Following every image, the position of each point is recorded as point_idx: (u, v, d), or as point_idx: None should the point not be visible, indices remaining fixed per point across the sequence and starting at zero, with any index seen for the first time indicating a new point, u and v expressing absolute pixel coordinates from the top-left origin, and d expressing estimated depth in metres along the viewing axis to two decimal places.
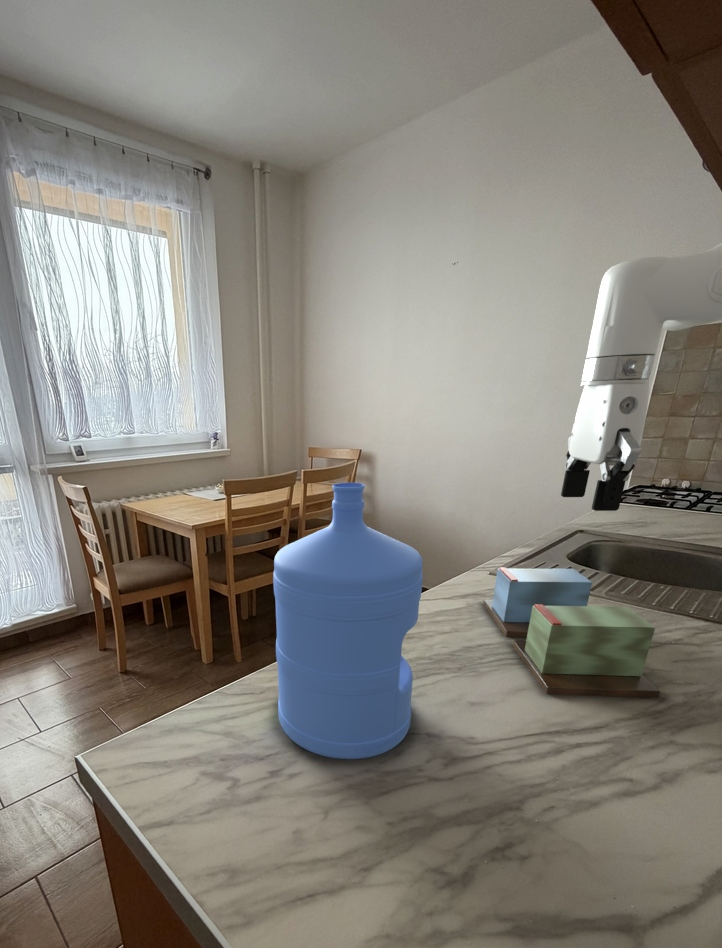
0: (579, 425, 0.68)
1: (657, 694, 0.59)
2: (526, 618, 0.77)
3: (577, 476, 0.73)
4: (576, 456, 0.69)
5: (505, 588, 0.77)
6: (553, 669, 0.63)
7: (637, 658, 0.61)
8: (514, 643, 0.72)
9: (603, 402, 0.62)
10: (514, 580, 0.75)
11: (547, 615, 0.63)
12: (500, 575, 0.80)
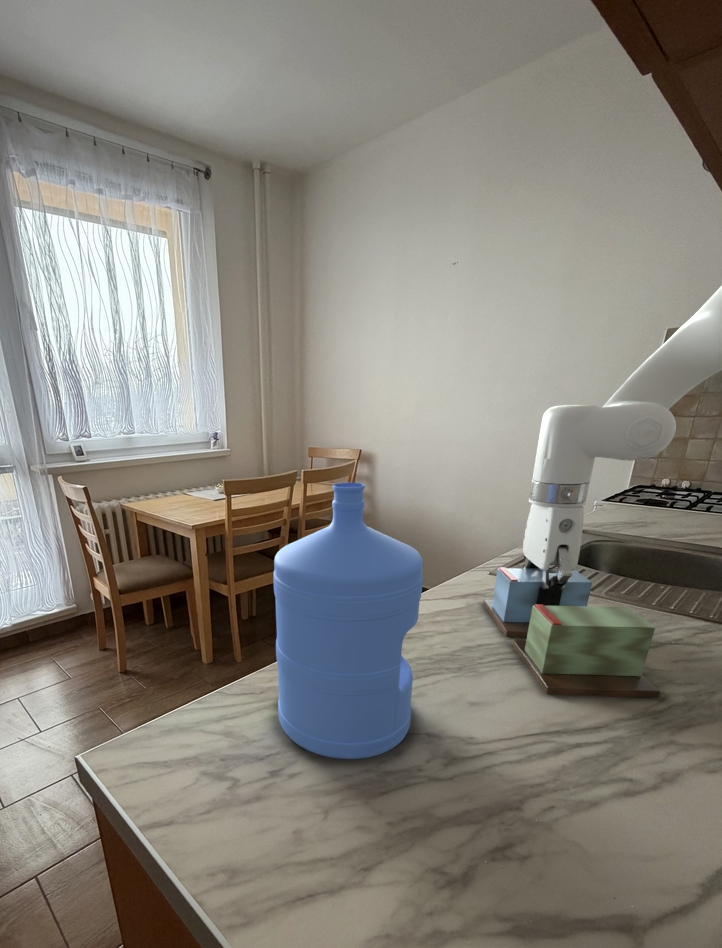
0: (529, 532, 0.77)
1: (657, 694, 0.59)
2: (526, 618, 0.77)
3: None
4: (527, 557, 0.79)
5: (505, 588, 0.77)
6: (553, 669, 0.63)
7: (637, 658, 0.61)
8: (514, 643, 0.72)
9: (546, 520, 0.71)
10: (514, 580, 0.75)
11: (547, 615, 0.63)
12: (500, 575, 0.80)
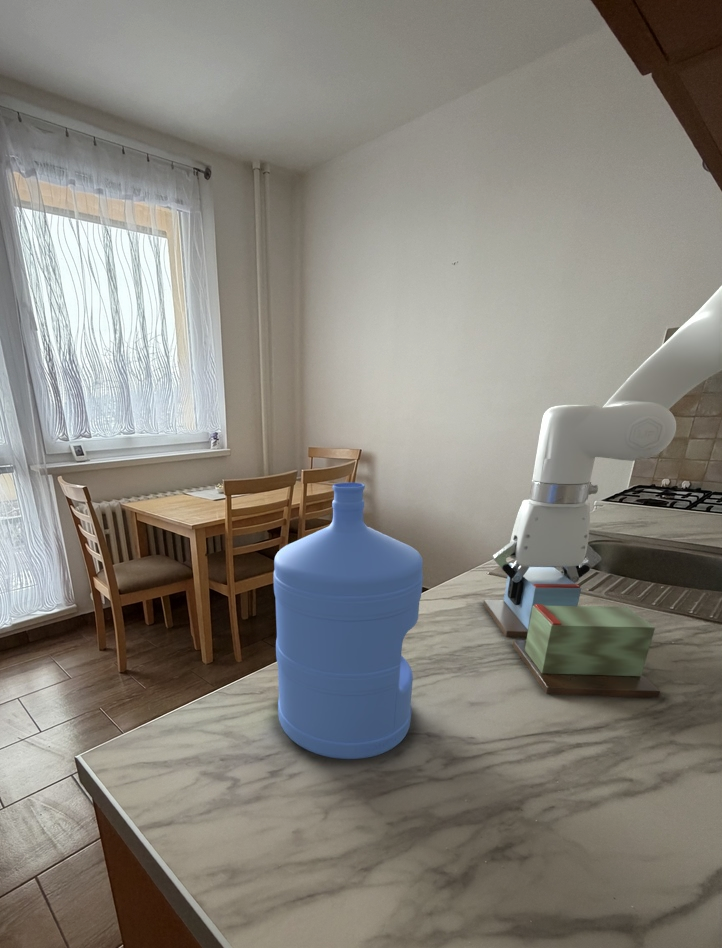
0: (543, 539, 0.73)
1: (657, 694, 0.59)
2: None
3: None
4: (539, 565, 0.75)
5: (569, 599, 0.73)
6: (553, 669, 0.63)
7: (637, 658, 0.61)
8: (514, 643, 0.72)
9: (582, 518, 0.72)
10: (578, 586, 0.72)
11: (547, 615, 0.63)
12: (546, 592, 0.73)
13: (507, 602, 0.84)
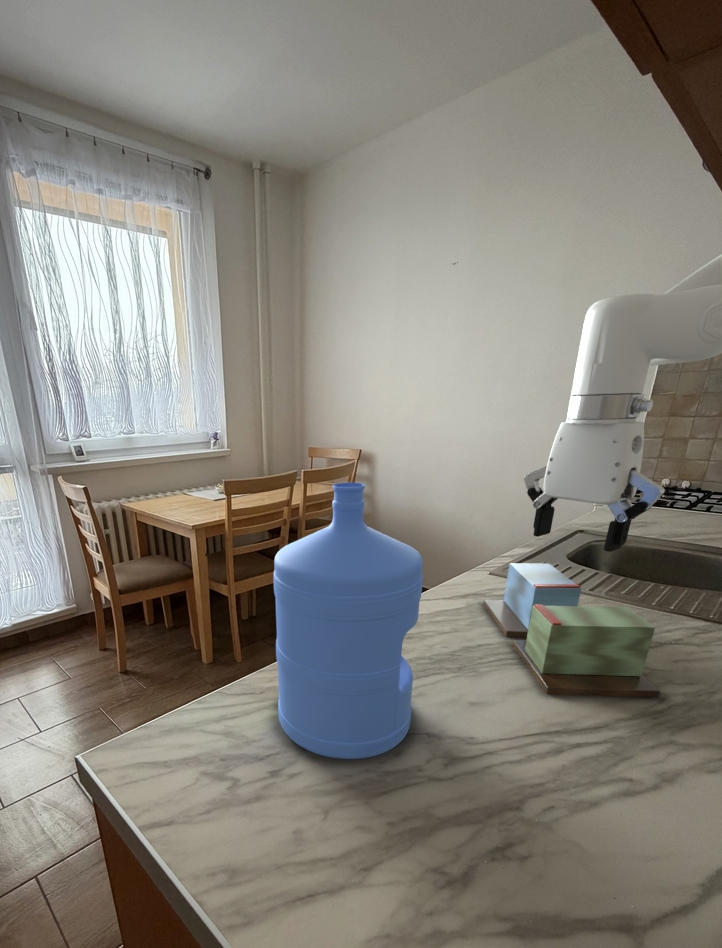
0: (566, 464, 0.64)
1: (657, 694, 0.59)
2: None
3: (547, 514, 0.70)
4: (563, 496, 0.65)
5: (569, 599, 0.73)
6: (553, 669, 0.63)
7: (637, 658, 0.61)
8: (514, 643, 0.72)
9: (613, 441, 0.59)
10: (578, 586, 0.72)
11: (547, 615, 0.63)
12: (546, 592, 0.73)
13: (507, 602, 0.84)
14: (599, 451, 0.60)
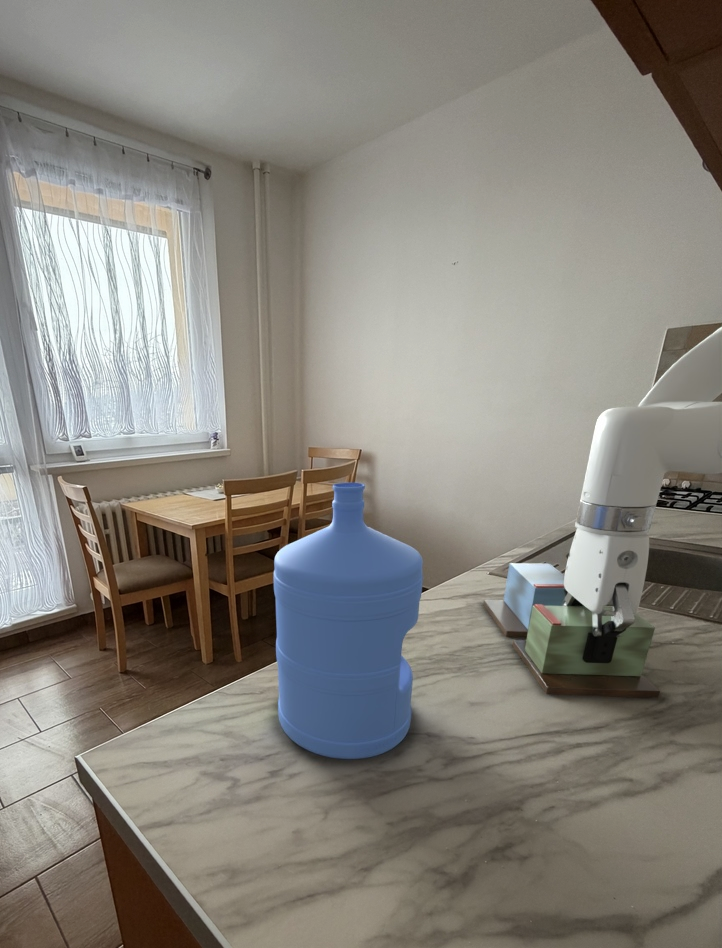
0: (574, 563, 0.62)
1: (657, 694, 0.59)
2: None
3: None
4: (571, 594, 0.64)
5: None
6: (553, 669, 0.63)
7: (637, 658, 0.61)
8: (514, 643, 0.72)
9: (599, 551, 0.57)
10: None
11: (547, 615, 0.63)
12: (546, 592, 0.73)
13: (507, 602, 0.84)
14: (591, 558, 0.58)
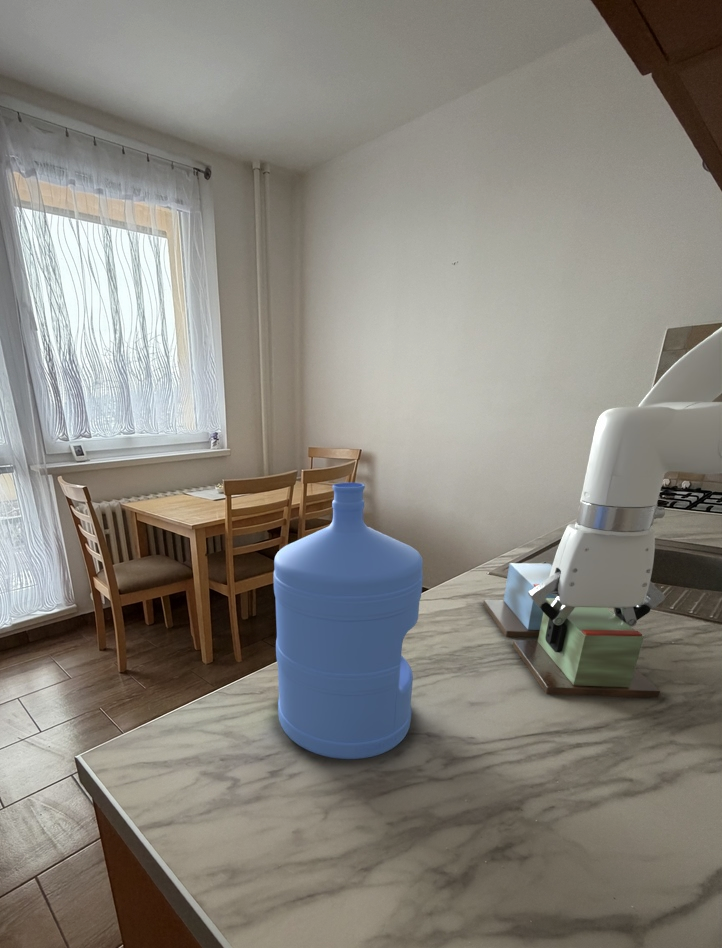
0: (595, 574, 0.59)
1: (657, 694, 0.59)
2: None
3: None
4: (587, 605, 0.60)
5: None
6: None
7: None
8: (514, 643, 0.72)
9: (645, 549, 0.57)
10: None
11: (619, 633, 0.58)
12: None
13: (507, 602, 0.84)
14: (632, 560, 0.57)
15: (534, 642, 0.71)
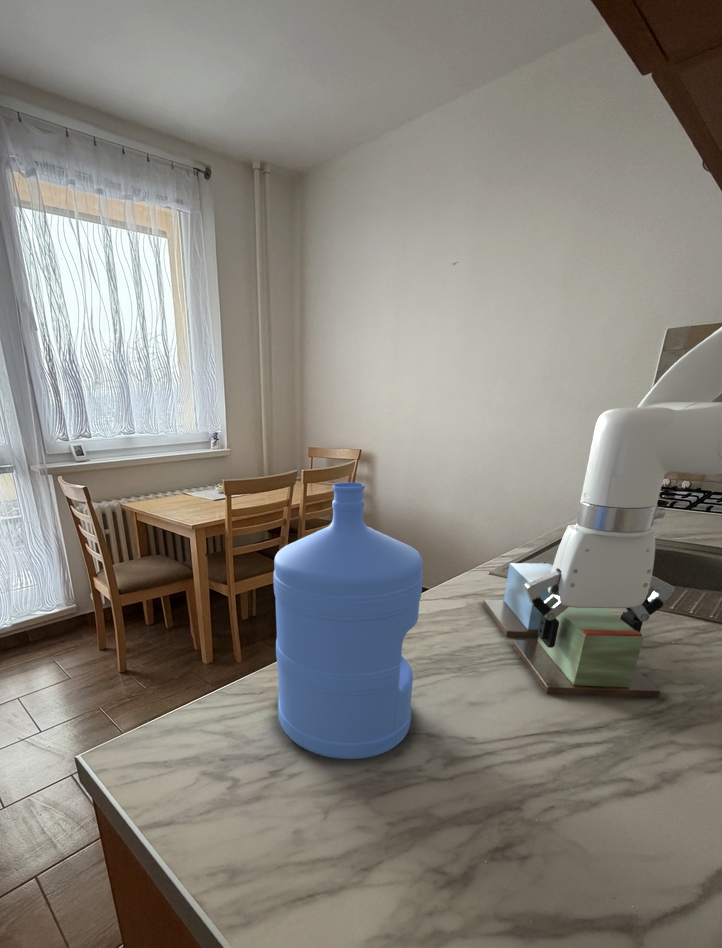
0: (595, 575, 0.59)
1: (657, 694, 0.59)
2: None
3: None
4: (588, 605, 0.61)
5: None
6: None
7: None
8: (514, 643, 0.72)
9: (645, 550, 0.57)
10: None
11: (619, 633, 0.58)
12: (546, 592, 0.73)
13: (507, 602, 0.84)
14: (632, 560, 0.57)
15: (534, 642, 0.71)
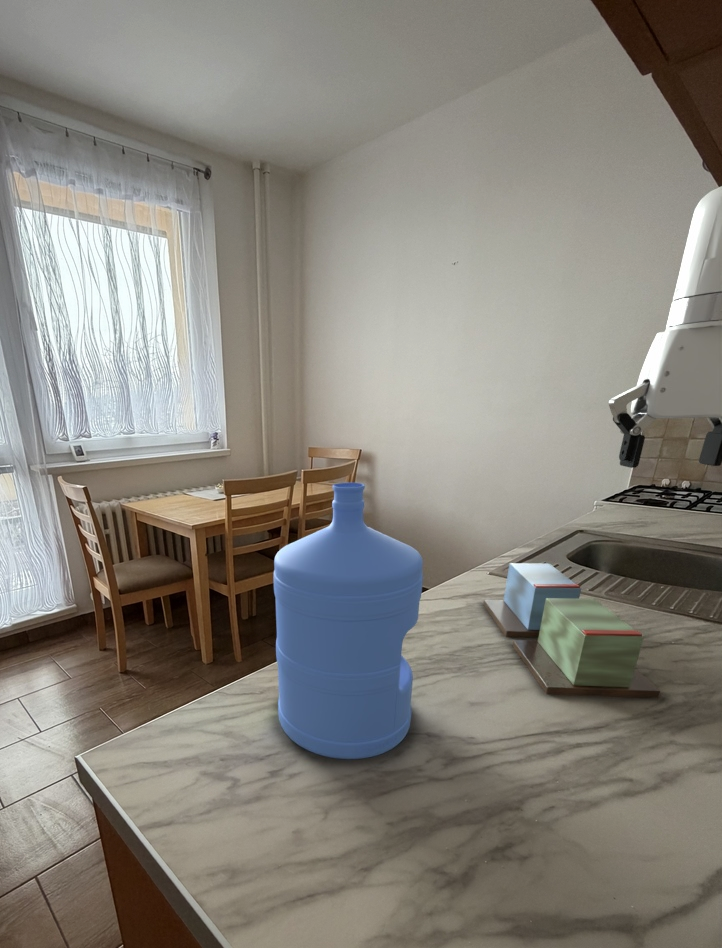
0: (688, 376, 0.57)
1: (657, 694, 0.59)
2: None
3: None
4: (677, 414, 0.59)
5: None
6: None
7: None
8: (514, 643, 0.72)
9: None
10: (578, 586, 0.72)
11: (619, 633, 0.58)
12: (546, 592, 0.73)
13: (507, 602, 0.84)
14: None
15: (534, 642, 0.71)
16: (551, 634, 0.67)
